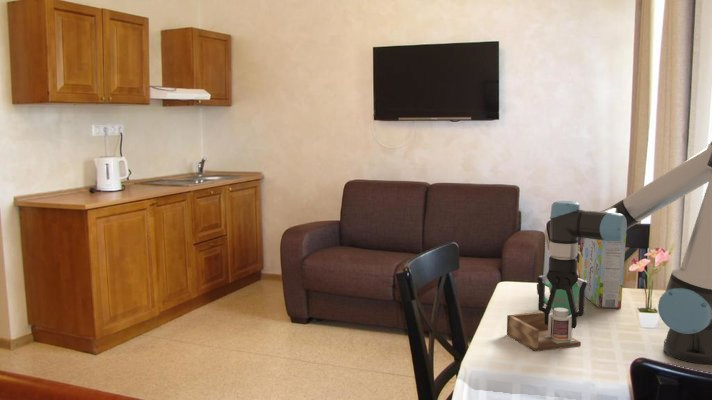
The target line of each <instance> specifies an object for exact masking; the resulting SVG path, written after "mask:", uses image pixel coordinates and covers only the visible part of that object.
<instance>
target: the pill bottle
mask: <svg viewBox="0 0 712 400" xmlns="http://www.w3.org/2000/svg"><path fill="white" fill-rule="evenodd" d="M553 311H554V312H553V313H554V315H553V316H552V332H551V337H552V338H553V339H555V340H559V341H565V340H568V325H569V316H568V314H569V311H568V309H566V308H554V310H553Z"/></svg>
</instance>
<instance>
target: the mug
mask: <svg viewBox="0 0 712 400" xmlns="http://www.w3.org/2000/svg"><path fill="white" fill-rule="evenodd" d="M545 287H547V288H548V290H549V294H550V293H551V289H552V285H551V283H550V282H549V281H546V283H545ZM572 289H573V295H574V300H575V304H576V305H577V302H578V300H579V291H580V287H579V286H578V282H576V283H575V284H574V285H573V286H572ZM536 291H537V292H536V293H537V296H539V283H538V282H537V284H536ZM547 302H548V299H547V297H546V296H545V299H544V306H547ZM554 308H566V309H568V311H569V314H568V316H570V315H571V311H570V306H569V301H568V297H567V294H566V290H562V289H559V290H558V289H557V291H556V294H555V298H554V301H553V304H552V307H551V310H552V311H554Z"/></svg>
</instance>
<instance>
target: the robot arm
mask: <svg viewBox="0 0 712 400" xmlns="http://www.w3.org/2000/svg"><path fill="white" fill-rule="evenodd" d="M706 184H707V187H706V190H705V192H704V196H703V198H702V203H701V204H700V208H699V211H698V214H697V217H696V219H695V223H694V226H693V230H692V231H691V235H690V238H689V240H688V244H687V247H686V250H685V253H684V257H683V259H682V262H681V264H680V266H679V267H677V268H674V269H672V272H671V273H670V276H669V280H668V282H667V286H666V289H665V292H664V293H663V294H662V295H661V296H660V298H659V300H658V304H657V308H658V309H657V310H658V314H659V317H660V319H661V320H662V322H663V323H664V325H666V327H668V328H669V329H668V331H667V335H666V337H665V338H664V340H663V351H664V352H665V353H666V354H668V355H669V356H671V357H673V358H675V359H678V360H681V361H685V362H689V363H695V364H703V365H705V364H707V365H712V139H711V140H710V141H708V146H707V147H706V148H705V149H703V150H701V151H700V152H698V153H697V154H695V155H693V156H691V157H690V158H688V159H687V160H685V161H684V162H682V163H680V164H679V165H677V166H676V167H673V168H672V169H670V170H668V171H667V172H666V173H664V174H662V175H660V176H659V177H656V178H655V179H654V180H652V181H650V182H649V183H648V184H646V185H644V186H643V187H641V188H639V189H637V190H636V191H635V192H633V193H631V194H630V195H628V196H626V197H625V198H623V199H622V200H619V201H618V202H616V203H615V204H613V205H611V206H610V207H608V208H604V209H602V210H600V211H598V210H597V211H596V210H595V211H592V210H586V209H585V210H583V209H581V206H580V203H579V202H577V201H572V200H557V201H553V203H552V204H551V210H550V217H549V219H550V220H549V221H550V222H549V225H550V227H549V245H548V246H549V249H548V250H549V251H548V254H549V255H550V256H549V257H548V272H547V273H546V274H545V275H542V274H540V275H539V276H537V278H536V281H537V284H538V283H539V295H538V302H537V303H538V304H537V309H538V312H541V311H542V312H544V313H545V324H546V325H548V337H551V332H552V316H553V313H552V312H550V311H551V310H552V309H551V307H552V304H553V301H554V298H555V294H556V291H557V289H558V290H559V289H562V290H566V294H567V297H568V301H569V306H570V311H571V315H570V316H569V325H568V340H571V339H572V338H573V329H576V328H577V325H578V317H583V316H584V314H585V303H586V300H585V299H586V297H585V288H586V286H587V283H588V281H587V280H582V279H580V278H579V277H578V276H579V274H578V258H577V257H578V253H579V252H578V251H579V250H578V248H579V247H578V246H579V238H580V239H581V238H589V239H597V240H605V241H608V242H610V241H618V242H619V241H622V240H623V239H624V236H625V234H626V235H627V230H629V229H630V228H631V227H633V226H635V225H637V224H638V223H640V222H641V221H643V220H645V219H646V218H648V217H651V215H653V214H655V213H657V212H658V211H661V210H662V209H664V208H666V207H667V206H669V205H671V204H673V203H674V202H676V201H678V200H679V199H682V198H683V197H685V196H686V195H689V194H690V193H692V192H694V191H696V190H697V189H699V188H700V187H702V186H704V185H706ZM547 280H548V282H550V283H551V285H552V289H551V293H550V292H549V297H548V299H547V300H548V302H547V305H545V304H544V299H545V297H546V296H545V292H546V286H545V283H546V282H547ZM575 283H577V284H578V286H579V287H580V291H579V295H578V310H577V306H576V305H577V303H576V304H575V300H574V295H573V289H572V286H573V285H574V284H575Z"/></svg>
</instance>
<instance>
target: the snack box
mask: <svg viewBox="0 0 712 400" xmlns="http://www.w3.org/2000/svg"><path fill="white" fill-rule="evenodd" d="M626 240H627V233H626V234H625V236H624V239H623V240H622V241H619V242H618V241H610V242H608V241H605V240H597V239H589V238H580V242H579V245H580V247H579V259H578V260H579V262H578V277H579V278H580V279H582V280H587V281H588V283H587V286H586V288H585V299H587V300H589V301H590V302H591V303H592V304H594V305H595V306H596V307H598V308H606V309H607V308H609V309H621V308H622V301H623V299H622V298H623V284H624V283H623V282H624V270H625V256H626V255H625V254H626V243H627V241H626Z"/></svg>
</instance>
